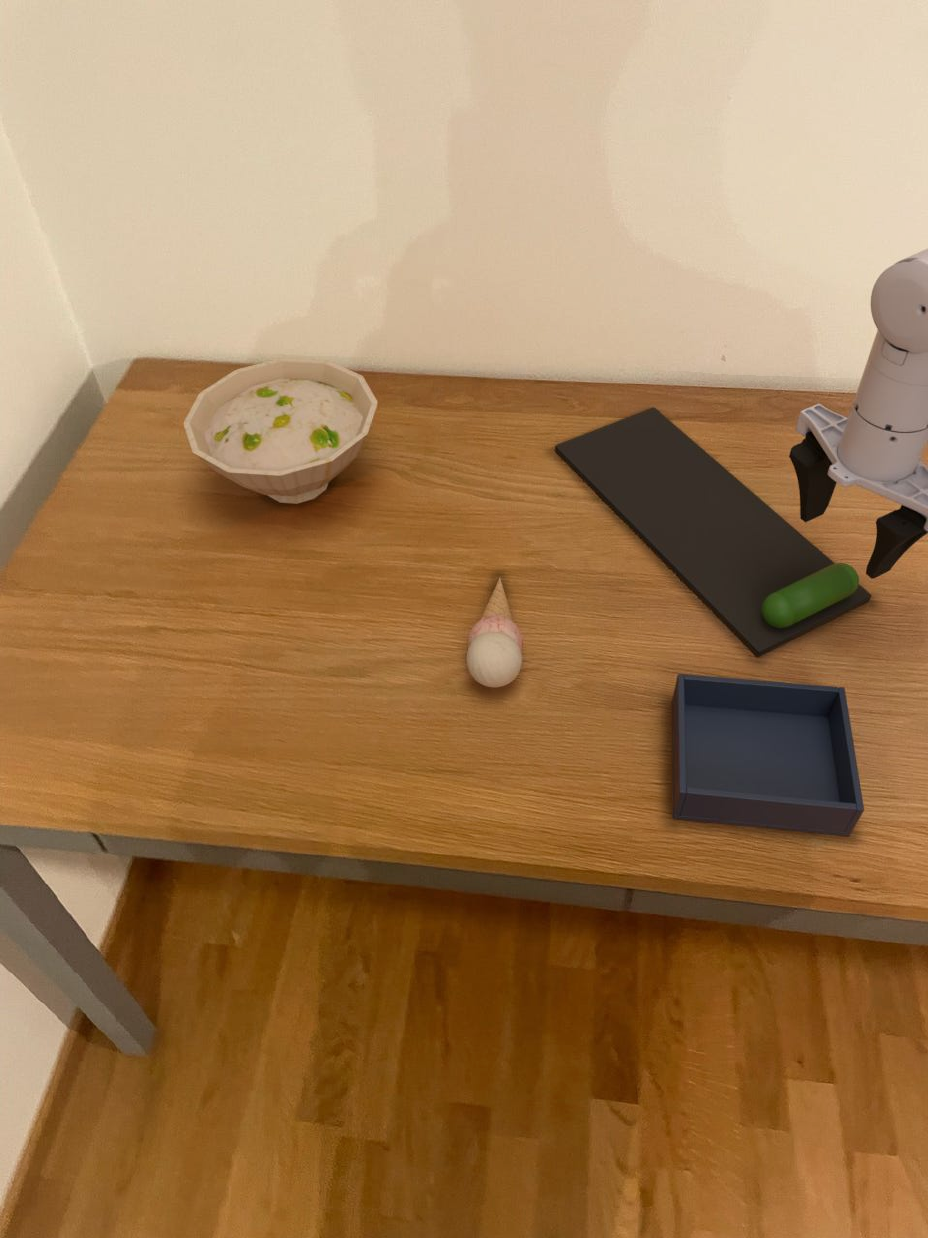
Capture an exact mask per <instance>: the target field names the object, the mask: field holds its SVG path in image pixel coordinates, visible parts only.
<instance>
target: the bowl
mask: <svg viewBox="0 0 928 1238" xmlns="http://www.w3.org/2000/svg"><path fill="white" fill-rule="evenodd" d="M378 404H379V402H378V400H377V398H376V397H375V395H374V392H373V391H372V390H371V388H370V386H369V384H368V382H367V380H366V379H365V377H364V376H363V375H361V374H359V373H358V372H355V371H352V370H351V369H348V368H346V367H344V366H342V365H340V364H338V363H335V362H333V361H330V360H328V359H310V358H293V357H292V358H291V357H290V358H289V357H288V358H287V357H281V358H276V359H272V360H269V361H265V362H261V363H257V364H253V365H249V366H244V367H241V368H237V369H235V370H233V371H232V372H230V373H229V374H226V375H225V376H223V377H222V378H221V379H219V380H218V381H216V382H215V383H212V384H211V385H209V386H208V387H207V388H205V389H204V390H202V391H201V392H199V394H198V395H197V397H196V398H195V400H194V403H193V405H192V406H191V408H190V410H189V412H188V413H187V415H186V417H185V419H184V421H183V423H182V425H183V427H184V430H185V432H186V436H187V439H188V442H189V445H190V447H191V452H192V453H193V454H194V455H195V456H196V457H198V458H199V459H200V461H202V462H204V464H206V465H207V466H208V467H209V468H210V469H212V470H213V471H214V472H216V473H218V474H219V475H221V476H223V477H225V478H226V479H228V480H230V481H232V482H234V483H236V484H237V485H239V486H241V487H242V488H245V489H248V490H250V491H252V492H255V493H259V494H260V495H264V496H268V497H269V498H271V499H272V500H274V501H276V502H278V503H280V504H281V503H283V504H296V505H297V504H300V503H301V504H302V503H304V502H307V501H310V500H314V499H316V498H317V497H318V496H319V495H322V493H324V492H325V491H326V490H327V488H328V486H329V483H330V481H332V480H333V479H334V478H336V477H337V476H339V474H341V473H342V472H343V471H344V470H345V469H346V468H347V467H348V466H349V465H350V464H351V463H352V462H353V461H354V460H355V459H356V458H357V457H358V456H359V454H360V452H361V450H362V447H363V445H364V443H365V441H366V439H367V436H368V434H369V431H370V427H371V425H372V422H373V418H374V416H375V413H376V411H377V407H378Z"/></svg>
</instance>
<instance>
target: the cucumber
mask: <svg viewBox="0 0 928 1238" xmlns="http://www.w3.org/2000/svg"><path fill="white" fill-rule="evenodd" d="M834 563H835V564H832V565H830V566H828V567H826V568H824V569H822V570H820V571H818V572H815V573H813V574H811V575H809V576H807V577H805V578H803V579H801V580H799V581H797V582H795V583H793V584H791V585H789V586H786V587H784V588H782V589H780V590H778V591H776V592H774V593H772V594H770V595H769V596H768V597H767V598H766V599H765V600H764V602H763V603H762V607H761V612H762V616H763V618H764V620H765V621H766V622H767V623H768V624H769V625H771V626H773V627H776V628H785V627H788V626H791V625H793V624H795V623H797V622H799V621H801V620H803V619H805V618H807V617H809V616H811V615H813V614H815V613H817V612H819V611H821V610H823V609H825V608H827V607H829V606H831V605H833V604H835V603H837V602H839V601H841V600H843V599H845V598H847V597H849V596H850V595H852V594H853V593H854V592H855V591H856V589H857V588H858V585H860V576H859V573H858V571H857V570H856V569H855V568H854V567H853V566H852V565H850V564H848V563H844V562H834Z"/></svg>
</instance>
